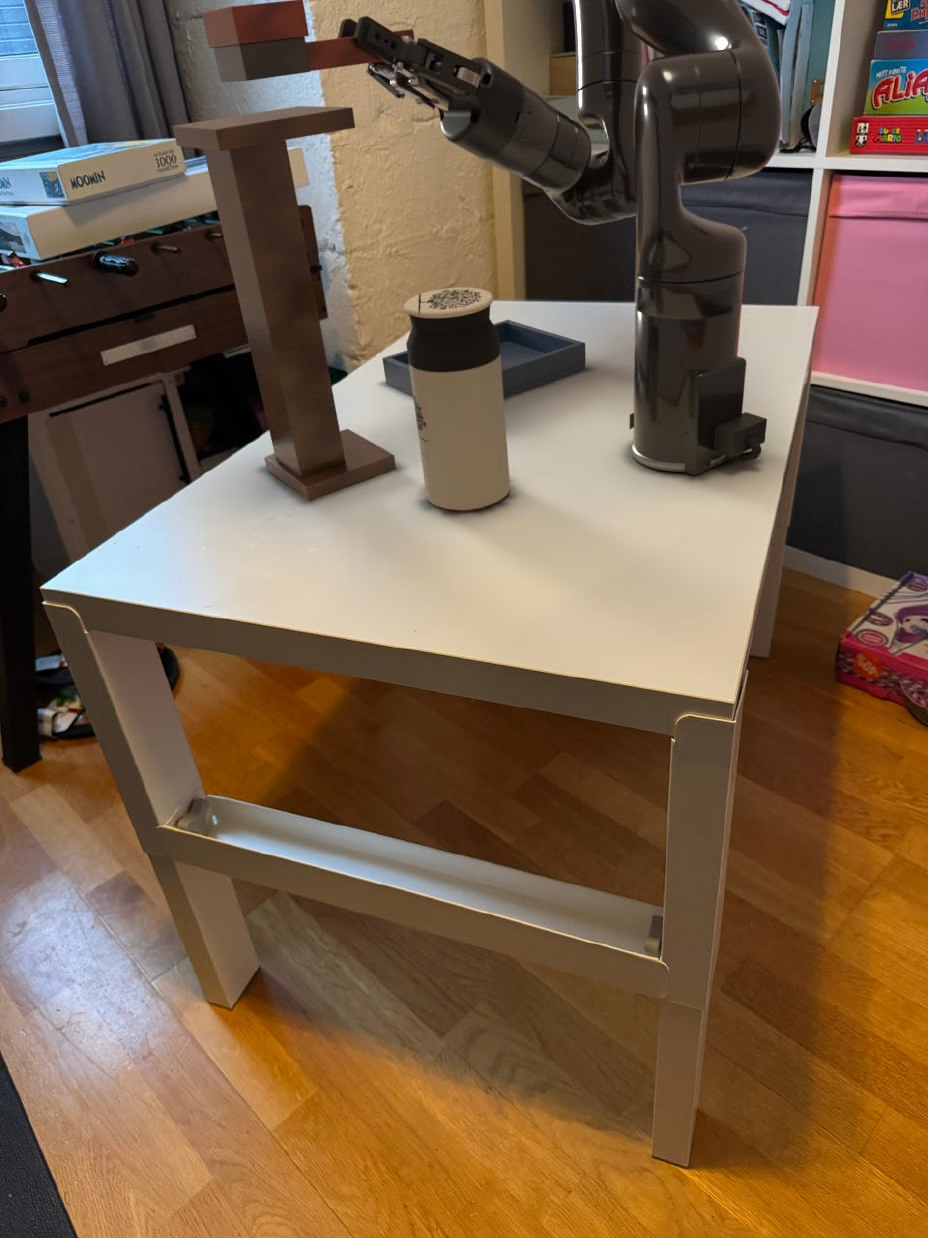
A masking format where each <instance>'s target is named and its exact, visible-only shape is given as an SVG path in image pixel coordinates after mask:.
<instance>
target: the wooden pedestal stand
mask: <svg viewBox="0 0 928 1238" xmlns="http://www.w3.org/2000/svg"><path fill="white" fill-rule="evenodd" d="M355 122H356V121H355V116H354V109H353V107H352V106H316V105H315V106H311V105H310V106H307V105H297V106H291V107H284V108H278V109H272V110H266V111H260V112H253V113H246V114H241V115H233V116H227V117H221V118H215V119H214V118H213V119H209V120H202V121H196V122H189V123H182V124H176V125H172V131H173V136H174V139H175V143H176V146H177V147H184V148H192V149H200V150H203V153H204V159H205V162H206V163H205V164H206V166H207V171H208V175H209V180H210V183H211V188H212V193H213V196H214V202H215V205H216V211H217V213H218V218H219V223H220V227H221V231H222V235H223V239H224V243H225V248H226V252H227V257H228V261H229V265H230V269H231V274H232V277H233V282H234V286H235V290H236V295H237V299H238V303H239V307H240V312H241V317H242V320H243V321H242V322H243V325H244V329H245V333H246V337H247V341H248V346H249V349H250V351H249V352H250V354H251V359H252V364H253V368H254V371H255V376H256V381H257V384H258V388H259V392H260V398H261V401H262V405H263V411H264V414H265V419H266V423H267V427H268V432H269V436H270V440H271V445H272V447H273V452H274V453H271V454H269V455H265V456H264V463H265V467H266V471H268V472H270V473H271V474H272V475H274V476H275V477H276V478H277V479H279V480H280V481H282V482H283V483H285V484H286V485H287V486H289V487H290V488H291V489H293V490H294V491H295V492H297V493H298V494H299V495H301V496H302V497H303V498H304V499H305V500H307V501H312V500H314V499H317V498H320V497H323V496H325V495H328V494H331V493H334V492H337V491H340V490H342V489H344V488H347V487H350V486H353V485H356V484H358V483H361V482H364V481H366V480H369V479H371V478H374V477H377V476H379V475H380V476H381V475H382V474H385V473H387V472H390V471H393V470H395V469H397V464H396V458H395V455H394V454H393V453H391V452H390V451H388V450H387V449H384V448H383V447H381V446H379V445H377V444H375V443H374V442H372V441H370V440H368V439H367V438H365V437H363V436H362V435H360V434H358V433H356V432H354V431H352V430H351V429H349V428H345V429H342V430H340V424H339V418H338V414H337V407H336V403H335V402H336V401H335V398H334V392H333V391H334V390H333V386H332V380H331V376H330V371H329V364H328V360H327V359H328V358H327V354H326V349H325V348H326V347H325V343H324V338H323V332H322V327H321V322H320V316H319V311H318V306H317V300H316V295H315V289H314V284H313V280H312V274H311V268H310V262H309V257H308V252H307V248H306V241H305V237H304V236H305V235H304V231H303V225H302V219H301V214H300V208H299V204H298V198H297V192H296V187H295V183H294V182H295V181H294V177H293V172H292V171H293V170H292V166H291V161H290V156H289V151H288V150H289V149H288V144H287V141H288V140H293V139H300V138H305V137H311V136H317V135H322V134H328V133H334V132H340V131H346V130H351V129H355V128H356V123H355Z"/></svg>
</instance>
